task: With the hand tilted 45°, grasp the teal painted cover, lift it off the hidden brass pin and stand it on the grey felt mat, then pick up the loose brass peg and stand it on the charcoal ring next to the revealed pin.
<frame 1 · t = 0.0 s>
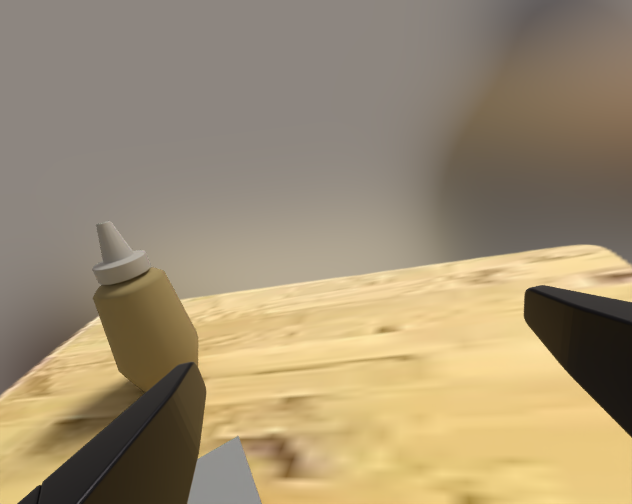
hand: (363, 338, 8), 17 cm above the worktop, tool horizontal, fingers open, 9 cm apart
squeeze bottle: (172, 377, 35), on the worktop
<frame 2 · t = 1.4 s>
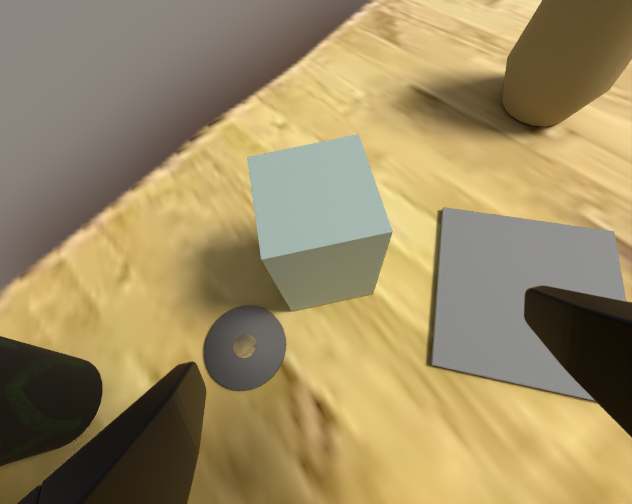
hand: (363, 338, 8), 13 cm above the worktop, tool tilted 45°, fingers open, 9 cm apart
squeeze bottle: (533, 106, 29), on the worktop
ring: (245, 346, 22), on the worktop
mat: (526, 295, 22), on the worktop
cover: (323, 265, 24), on the worktop
cup: (64, 401, 21), on the worktop
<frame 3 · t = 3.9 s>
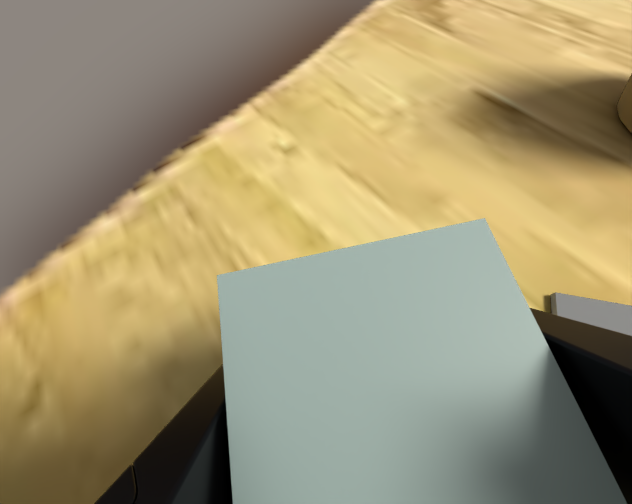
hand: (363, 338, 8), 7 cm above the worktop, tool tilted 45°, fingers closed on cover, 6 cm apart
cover: (361, 394, 14), on the worktop, touching gripper
when the fingers open (8 cm above the worktop, at t = 7.4 s): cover moves 1 cm, resting on mat.
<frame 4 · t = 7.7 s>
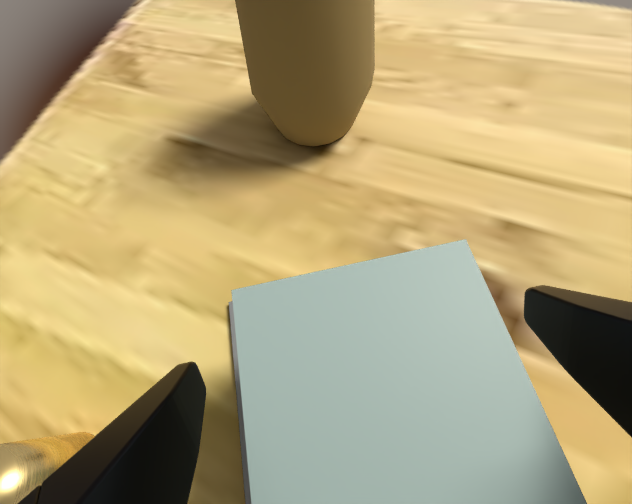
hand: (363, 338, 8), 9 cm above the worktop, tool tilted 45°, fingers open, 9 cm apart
squeeze bottle: (315, 120, 24), on the worktop
mat: (359, 394, 16), on the worktop
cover: (359, 393, 15), resting on mat
pin: (72, 467, 15), on the worktop
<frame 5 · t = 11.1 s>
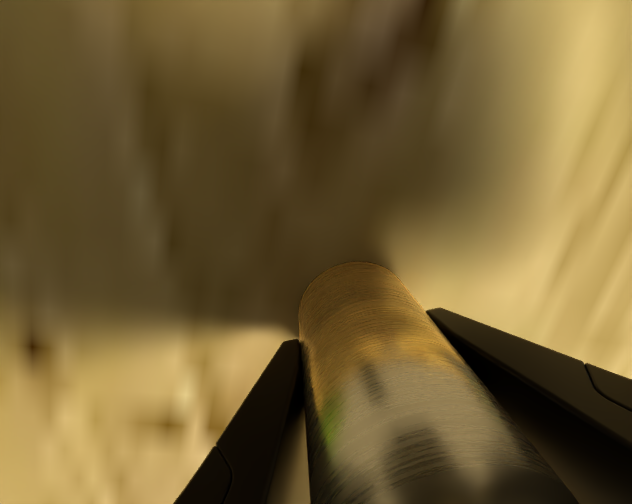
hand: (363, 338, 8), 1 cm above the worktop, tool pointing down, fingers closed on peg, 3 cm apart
peg: (354, 313, 10), on the worktop, touching gripper
when the fingers open (2 cm above the worktop, at t = 14.7 s): peg stays where it is, resting on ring.
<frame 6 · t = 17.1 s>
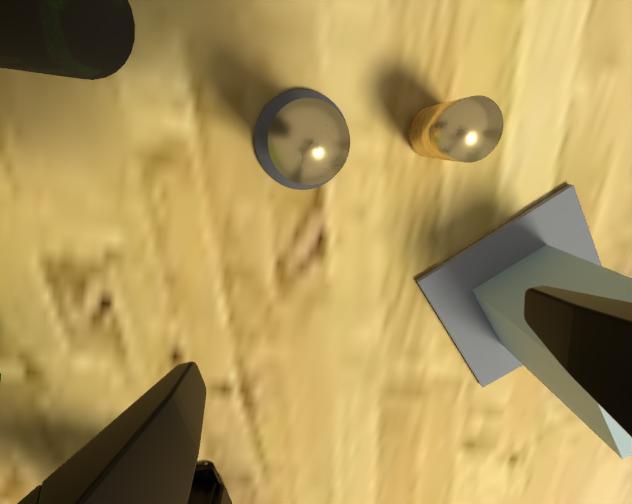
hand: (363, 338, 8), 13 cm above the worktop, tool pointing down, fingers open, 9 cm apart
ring: (302, 141, 19), on the worktop
mat: (519, 295, 24), on the worktop
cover: (523, 297, 24), resting on mat
peg: (302, 142, 19), resting on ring
cup: (79, 19, 16), on the worktop
pin: (432, 132, 19), on the worktop
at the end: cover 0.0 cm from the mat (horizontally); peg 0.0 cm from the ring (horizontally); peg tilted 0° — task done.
